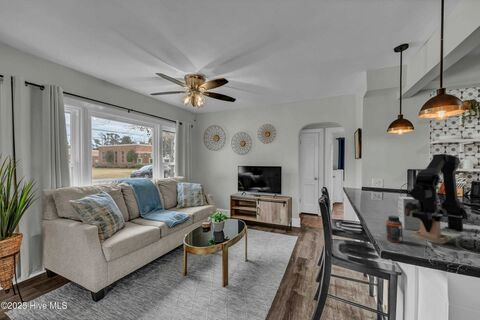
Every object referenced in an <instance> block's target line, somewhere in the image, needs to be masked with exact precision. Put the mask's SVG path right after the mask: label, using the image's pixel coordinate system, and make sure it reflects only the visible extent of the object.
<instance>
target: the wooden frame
mask: <svg viewBox="0 0 480 320" xmlns="http://www.w3.org/2000/svg"><path fill="white" fill-rule="evenodd" d="M411 237H412V238H417V239H418V240H419V239H420V240H423V241H428V242H432V243H436V244H440V245H443V244H446V243H448V242H451V241H452V239H451V236H447V235H443V234H441V238H435V237H431V236H427V235H423V234H421V231H420V230H414V231H412V232H411Z"/></svg>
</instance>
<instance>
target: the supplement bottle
mask: <svg viewBox="0 0 480 320" xmlns="http://www.w3.org/2000/svg"><path fill="white" fill-rule="evenodd" d="M385 222H386V223H385V225H386V226H385V230H386V239H387V240H388V241H389V242H391V243H396V244H397V243H398V244H400V243H403V242H404V236H403V228H402V223H401V222H400V221H399V215H398V216H397V215H388V216H387V220H386V221H385Z"/></svg>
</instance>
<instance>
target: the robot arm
mask: <svg viewBox="0 0 480 320" xmlns="http://www.w3.org/2000/svg"><path fill="white" fill-rule="evenodd" d="M460 163H461V160H460V158H459V157H458V156H456V155H449V154H448V153H447V154H446V153H438V154H437V153H436V154H433V155H432V159H431V160H430V163H429V164H428V165H427V166H426V167H425V169H422V170H420V171H419V172H418V173H417V174H416V176H415V178H414V183H413V187H414V188H413V189H411V191H410V192H409V193H410V197H412V198H414V199H415V200H419V201H418V203H416V204H413V203H411V202H410V203H406V209H408V210H409V211H414V210H418V211H414V212H412V217H415V218H419V219H420V220H421V221H422V223H423V225H424V227H425V229H426V232H430V230H431V228H432V225H433V223H434V221H438V222H440V223H441V221H442V219H443V218H444V217H445V218H447V219H446V220H447V226H445V227H444V229H447V230H453V231H456V232H457V231H458V232H464V231H467V228H464V220H465V221H467V220H469V215H468V213H467V211H466V208H464V203H463V202H462V201H461V200H460V199H458V198H459V197H458V188H457V180H456V179H457V178H456V172H457V170H458V169H459V167H460ZM440 172H441V173H442V179H443V187H444V188H443V189H444V196H445V199H444V200H443V202H442V203H441V208H439V207H438V204H439V203H440V201H439V200H438V194H437V189H438V186H439V183H440V181H441V177H440V176H439V173H440ZM440 215H441V216H440Z"/></svg>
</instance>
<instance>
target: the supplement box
mask: <svg viewBox="0 0 480 320" xmlns="http://www.w3.org/2000/svg"><path fill="white" fill-rule="evenodd" d="M418 201H419V200H415V199H414V198H412V196H397V210H398V214H397V215H398V217H399V221H400V222H401V223H402V229H404V230H410V231H411V230H412V231H419V230H420V219H419V218H415V217H412V212H414V211H418V210H414V211H409V210H408V209H406V203H410V202H411V203H413V204H416V203H418Z"/></svg>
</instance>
